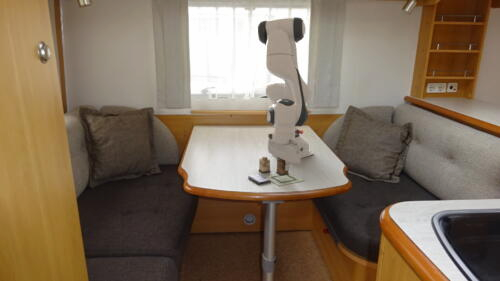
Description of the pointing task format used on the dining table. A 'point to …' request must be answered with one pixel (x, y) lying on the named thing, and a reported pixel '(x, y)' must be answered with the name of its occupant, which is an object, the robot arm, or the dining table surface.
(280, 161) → the walnut stamp
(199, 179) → the dining table surface
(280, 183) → the form card
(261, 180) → the ink pad
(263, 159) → the beech stamp
